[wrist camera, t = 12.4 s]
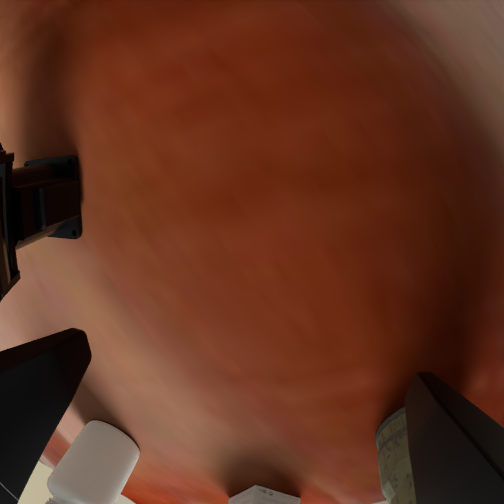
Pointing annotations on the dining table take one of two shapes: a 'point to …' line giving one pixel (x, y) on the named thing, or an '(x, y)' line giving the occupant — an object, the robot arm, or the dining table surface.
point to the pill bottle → (94, 466)
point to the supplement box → (263, 497)
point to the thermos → (395, 460)
